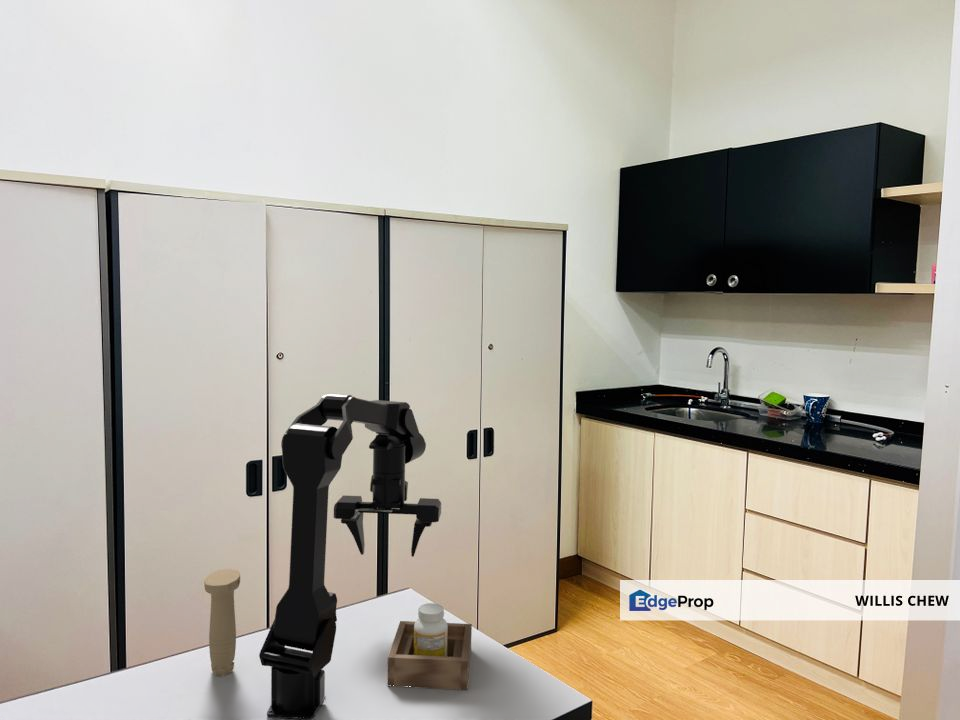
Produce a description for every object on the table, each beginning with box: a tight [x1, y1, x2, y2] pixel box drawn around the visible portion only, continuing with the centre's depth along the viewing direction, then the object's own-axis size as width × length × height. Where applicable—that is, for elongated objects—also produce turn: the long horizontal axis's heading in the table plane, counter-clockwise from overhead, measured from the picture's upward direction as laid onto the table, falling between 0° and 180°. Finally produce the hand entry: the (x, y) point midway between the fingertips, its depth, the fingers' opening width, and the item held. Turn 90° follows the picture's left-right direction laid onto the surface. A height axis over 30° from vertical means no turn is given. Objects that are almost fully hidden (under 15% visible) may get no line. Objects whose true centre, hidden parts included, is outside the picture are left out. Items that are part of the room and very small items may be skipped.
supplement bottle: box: [414, 602, 448, 657], centre depth 108 cm, size 5×5×10 cm
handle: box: [203, 568, 241, 677], centre depth 105 cm, size 5×6×15 cm
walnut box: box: [387, 620, 473, 691], centre depth 108 cm, size 12×12×4 cm
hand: (387, 554), depth 124 cm, fingers open, 9 cm apart
